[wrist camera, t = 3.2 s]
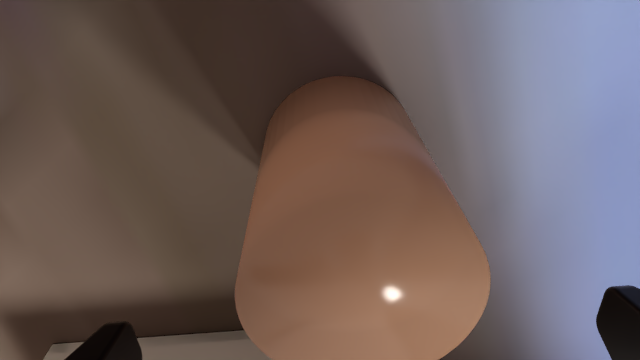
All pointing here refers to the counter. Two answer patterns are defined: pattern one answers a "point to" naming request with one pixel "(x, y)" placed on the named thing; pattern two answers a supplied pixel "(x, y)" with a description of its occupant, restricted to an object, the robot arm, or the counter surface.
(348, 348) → the peach rounded cylinder
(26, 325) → the counter surface
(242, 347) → the tray
